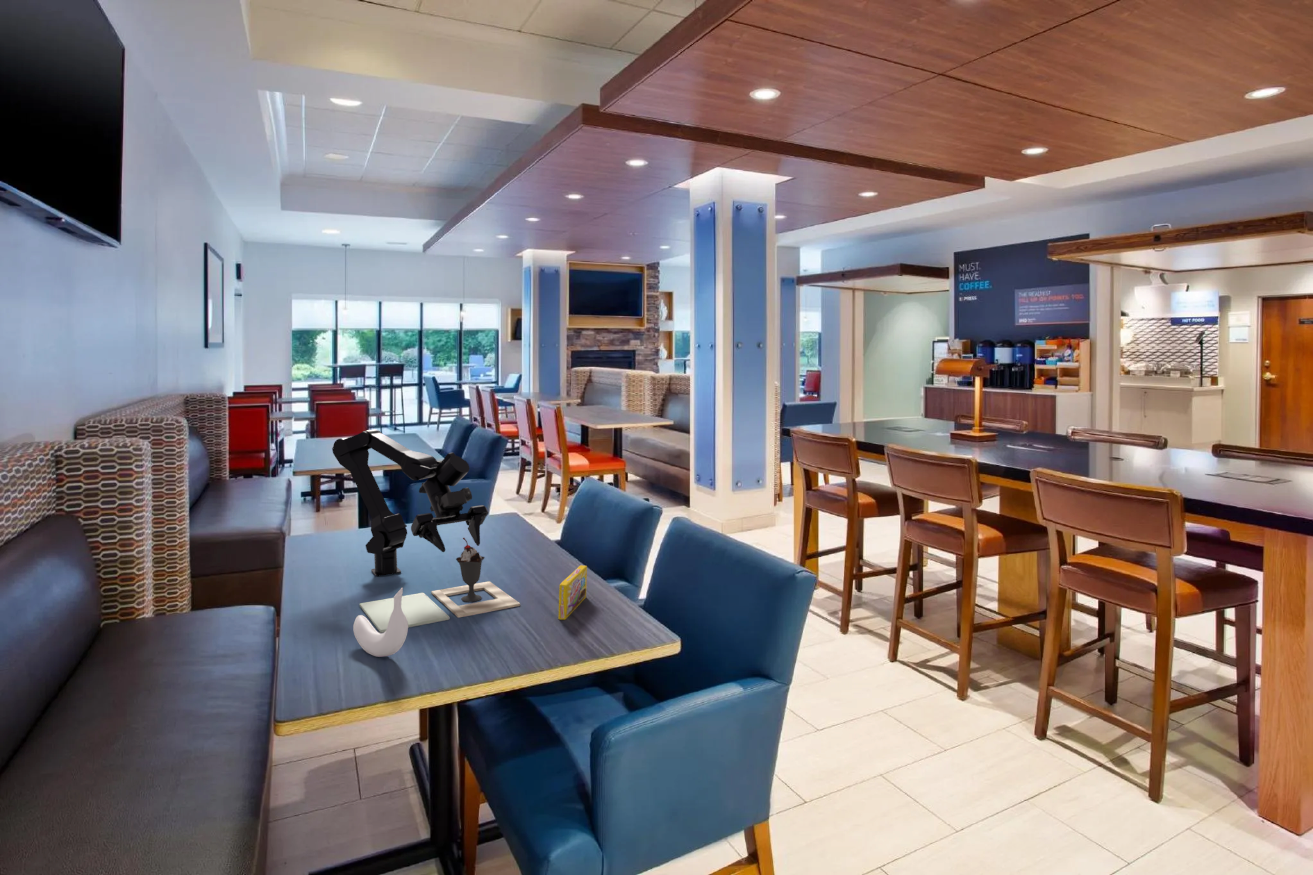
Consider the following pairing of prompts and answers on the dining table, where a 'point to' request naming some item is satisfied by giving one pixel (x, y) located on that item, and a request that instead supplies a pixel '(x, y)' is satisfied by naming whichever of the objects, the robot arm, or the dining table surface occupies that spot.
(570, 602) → the candy box
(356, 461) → the robot arm
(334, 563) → the dining table surface
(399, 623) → the white curved piece
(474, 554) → the sundae
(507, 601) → the wooden picture frame
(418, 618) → the stub pad
